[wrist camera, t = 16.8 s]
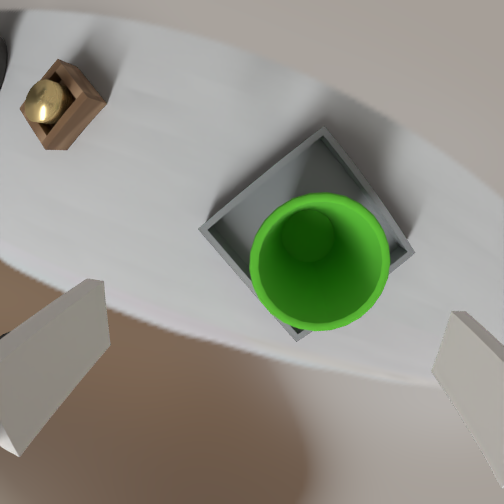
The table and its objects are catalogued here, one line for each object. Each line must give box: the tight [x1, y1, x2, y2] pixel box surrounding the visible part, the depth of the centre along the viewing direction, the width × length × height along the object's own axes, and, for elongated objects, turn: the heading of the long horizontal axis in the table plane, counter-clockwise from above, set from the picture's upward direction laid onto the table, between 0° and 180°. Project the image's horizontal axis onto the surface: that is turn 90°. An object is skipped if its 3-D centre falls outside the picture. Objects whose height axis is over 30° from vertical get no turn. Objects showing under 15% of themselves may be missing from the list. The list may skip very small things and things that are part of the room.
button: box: [25, 79, 72, 124], centre depth 25 cm, size 4×4×3 cm
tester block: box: [20, 59, 107, 150], centre depth 28 cm, size 7×7×4 cm
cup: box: [249, 192, 390, 331], centre depth 25 cm, size 9×9×11 cm
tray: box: [198, 126, 415, 342], centre depth 30 cm, size 14×14×3 cm
